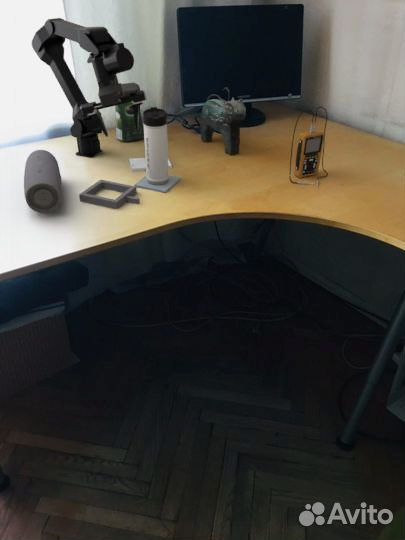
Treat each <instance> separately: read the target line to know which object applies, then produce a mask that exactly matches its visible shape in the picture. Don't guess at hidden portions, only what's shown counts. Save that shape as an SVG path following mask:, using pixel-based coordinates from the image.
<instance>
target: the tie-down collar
mask: <svg viewBox="0 0 405 540" xmlns="http://www.w3.org/2000/svg"><path fill="white" fill-rule="evenodd" d="M103 189H104V190H108V191H113V192H117V193H122V194H120V195H119V196H118V197H116V198H115V199H113V198H109V197H106V196H105V197H104V196H99V195H96V194H97V193H98V192H100V191H101V190H103ZM136 195H137V187H135V186H134V185H131V184H125V183H121V182H115V181H109V180H104V179H99V180H97V182H95V183H94V184H92V185H90V186H89V187H87V188H85V190H83V191H82V192H80V193H79V202H83V203H88V204H92V205H96V206H99V207H100V206H101V207H104V208H110V209H114V210H119V208H121V207H122V206H124V205H125V204H126V203H130V204H134V205H139V204H140V203H141V201H140V199H141V198H140V197H138V196H137V197H136Z"/></svg>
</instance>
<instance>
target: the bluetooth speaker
mask: <svg viewBox="0 0 405 540" xmlns="http://www.w3.org/2000/svg"><path fill="white" fill-rule="evenodd" d="M23 189H24V198H25V199H24V200H25V202H26V205H27V206H28V208H30V210H32V211H33V212H36V213H38V214H49V213H52V212H54V211H56V210H57V209H58V208H59V206H60V204H61V202H62V201H61V200H62V176H61V171H60V167H59V164H58V160H57V158H56V157H55V155H53V154H52V153H51V152H50V151H48V150H45V149H36V150H34V151H32V152H30V153H29V155H28V157H27V159H26V162H25V166H24V175H23Z"/></svg>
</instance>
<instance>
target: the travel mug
mask: <svg viewBox="0 0 405 540" xmlns="http://www.w3.org/2000/svg"><path fill="white" fill-rule="evenodd" d="M142 115H143V117H142V118H143V119H142V121H143V129H144V137H143V140H144V152H145V153H144V155H145V157H144V158H146V172H145V173H146V175H147V182H148V183H150V184H152V185H163V184H165V183H167V182H168V180H169V179H168V175H169V169H168V159H169V155H168V154H169V153H168V149H169V148H168V147H169V146H168V121H167V111H165V110H164V109H162V108H158V106H155V107H153V106H152V107H150V108H147V109H145V110H144V111H143V113H142Z"/></svg>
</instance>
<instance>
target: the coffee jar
mask: <svg viewBox="0 0 405 540" xmlns="http://www.w3.org/2000/svg"><path fill="white" fill-rule="evenodd" d="M121 84H122V87H123V90H124V97H125V96H130V93H133V92H137V91H141V88H140V85H139V84H138V83H136V82H128V83H127V82H125V83H121ZM119 101H120V99H119ZM132 105H133V103H132V102H128V103H124V104H120V105H115V107H114V109H115V136H116V139H117V140H118V141H119V142H125V143H130V142H134V141H139V140H142V139H144V123H143V119H142V118H143V117H142V112H141V109H140V110H139V122H138V130H137V129H136V126H135V120H134V114H133V109H132Z"/></svg>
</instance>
